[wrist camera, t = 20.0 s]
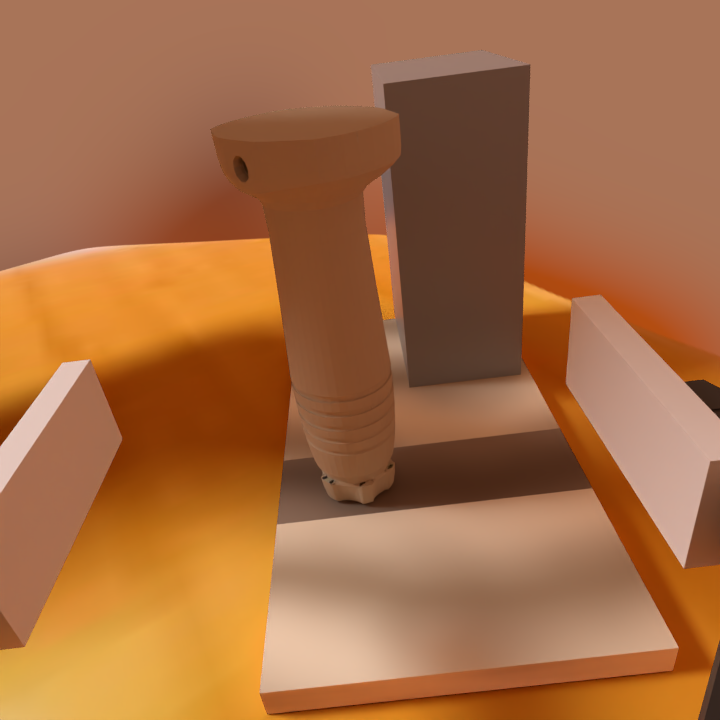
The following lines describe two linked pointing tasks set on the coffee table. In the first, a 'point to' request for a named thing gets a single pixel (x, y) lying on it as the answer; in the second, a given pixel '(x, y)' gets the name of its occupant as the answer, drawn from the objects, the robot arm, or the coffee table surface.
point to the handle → (326, 276)
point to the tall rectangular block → (457, 212)
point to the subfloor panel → (452, 561)
